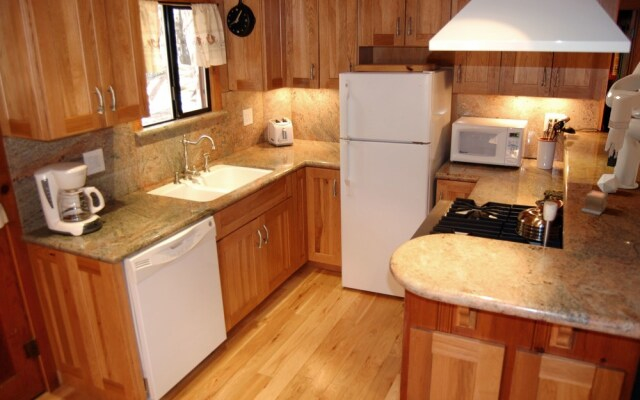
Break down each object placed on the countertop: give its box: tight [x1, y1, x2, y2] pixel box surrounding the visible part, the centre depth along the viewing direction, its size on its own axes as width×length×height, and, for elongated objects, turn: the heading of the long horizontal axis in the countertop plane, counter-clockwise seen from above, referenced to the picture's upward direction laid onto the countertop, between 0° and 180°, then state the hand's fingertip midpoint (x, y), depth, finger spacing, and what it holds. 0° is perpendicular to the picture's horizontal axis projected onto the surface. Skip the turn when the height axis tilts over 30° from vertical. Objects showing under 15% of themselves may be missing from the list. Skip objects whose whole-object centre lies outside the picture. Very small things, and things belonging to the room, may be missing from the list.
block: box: [583, 189, 609, 212], centre depth 212 cm, size 6×6×8 cm
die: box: [596, 173, 622, 194], centre depth 232 cm, size 8×9×10 cm
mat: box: [580, 206, 606, 216], centre depth 212 cm, size 10×7×1 cm
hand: (611, 166), depth 219 cm, fingers closed
